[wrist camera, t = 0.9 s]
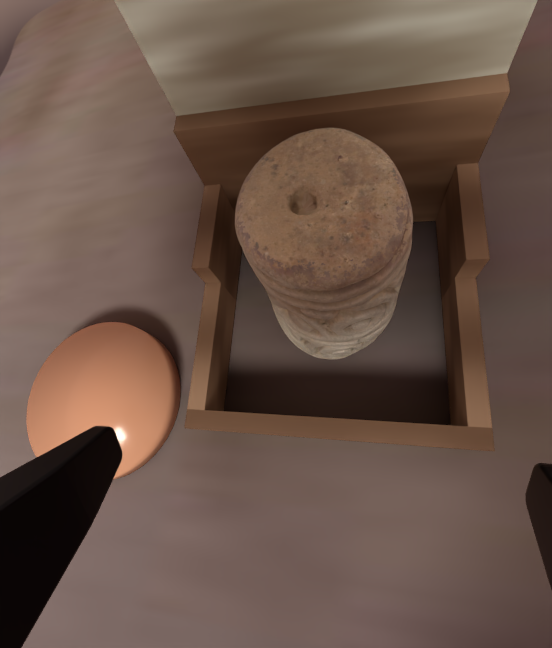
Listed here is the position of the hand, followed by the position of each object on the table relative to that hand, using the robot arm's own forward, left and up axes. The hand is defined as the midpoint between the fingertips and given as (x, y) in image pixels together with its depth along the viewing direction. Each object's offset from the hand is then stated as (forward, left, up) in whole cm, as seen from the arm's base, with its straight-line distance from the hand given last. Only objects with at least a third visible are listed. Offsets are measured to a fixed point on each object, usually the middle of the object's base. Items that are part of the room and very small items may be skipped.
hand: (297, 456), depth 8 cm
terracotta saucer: (-4, +14, -13) cm, 20 cm away
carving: (+7, +4, -14) cm, 16 cm away
